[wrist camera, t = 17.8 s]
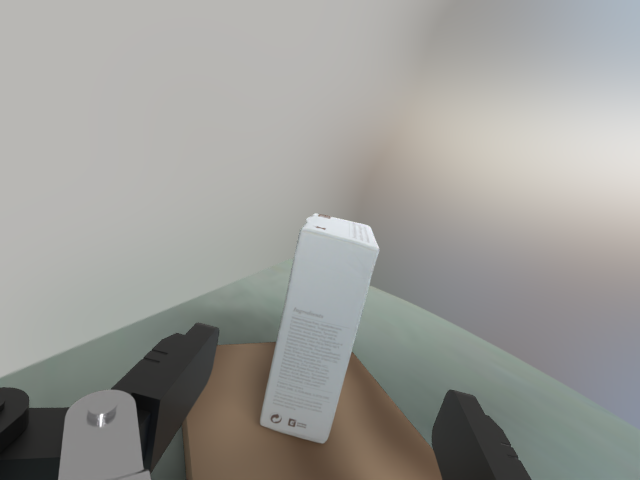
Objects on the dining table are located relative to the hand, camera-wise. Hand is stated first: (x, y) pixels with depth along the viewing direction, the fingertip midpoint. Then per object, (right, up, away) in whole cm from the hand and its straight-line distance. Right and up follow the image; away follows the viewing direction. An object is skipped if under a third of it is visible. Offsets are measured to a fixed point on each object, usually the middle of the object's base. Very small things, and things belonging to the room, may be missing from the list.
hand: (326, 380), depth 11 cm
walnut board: (-2, -7, +11) cm, 13 cm away
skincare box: (-2, -6, +11) cm, 12 cm away
